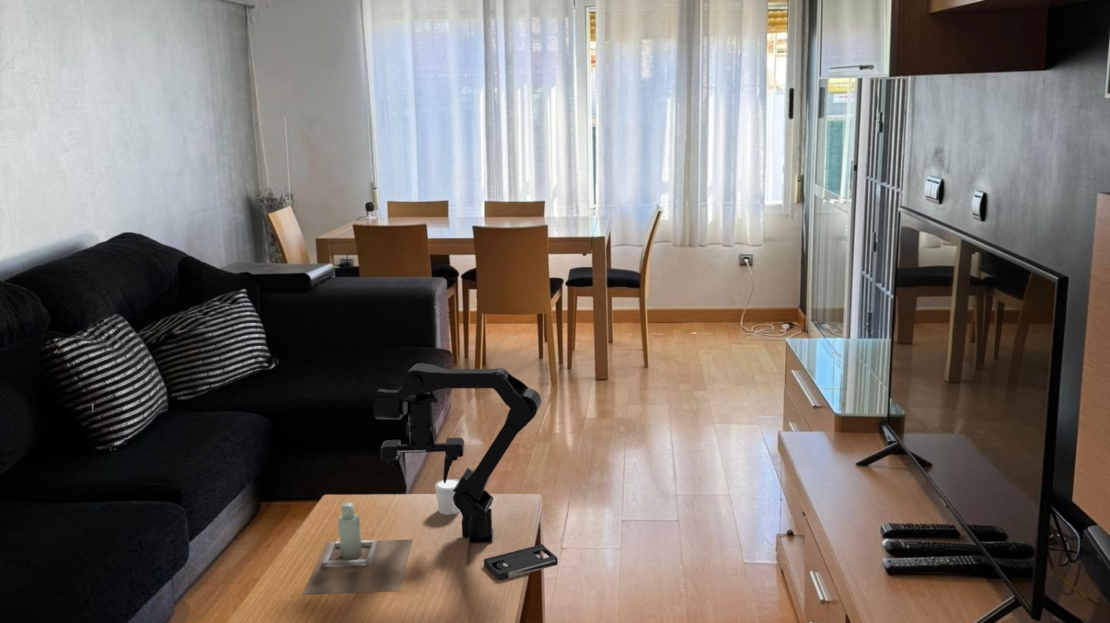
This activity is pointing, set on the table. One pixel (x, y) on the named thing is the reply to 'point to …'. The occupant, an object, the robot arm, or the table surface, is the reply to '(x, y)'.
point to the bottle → (349, 533)
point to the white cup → (446, 496)
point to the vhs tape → (520, 562)
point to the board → (360, 568)
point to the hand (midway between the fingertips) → (425, 483)
